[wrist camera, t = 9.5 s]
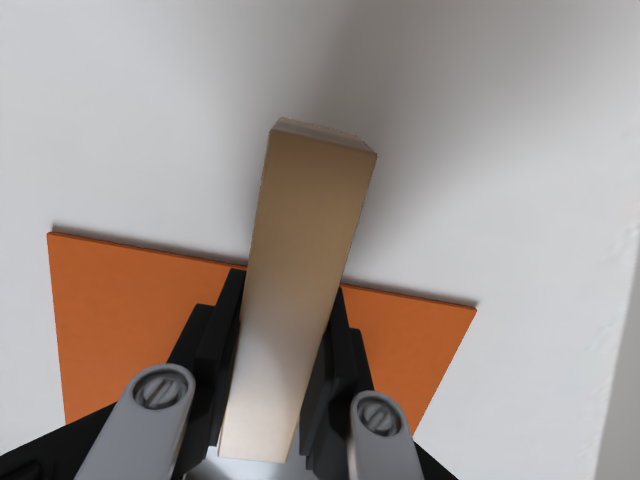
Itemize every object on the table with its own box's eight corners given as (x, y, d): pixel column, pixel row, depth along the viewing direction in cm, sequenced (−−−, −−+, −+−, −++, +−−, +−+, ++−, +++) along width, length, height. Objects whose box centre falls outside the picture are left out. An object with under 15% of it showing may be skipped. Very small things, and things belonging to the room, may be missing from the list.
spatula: (187, 94, 9) (137, 96, 6) (439, 154, 9) (489, 179, 7) (163, 473, 15) (134, 552, 12) (315, 487, 16) (317, 564, 13)
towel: (50, 231, 11) (46, 233, 11) (475, 307, 14) (477, 310, 13) (81, 561, 20) (79, 565, 20) (338, 574, 22) (338, 579, 22)
